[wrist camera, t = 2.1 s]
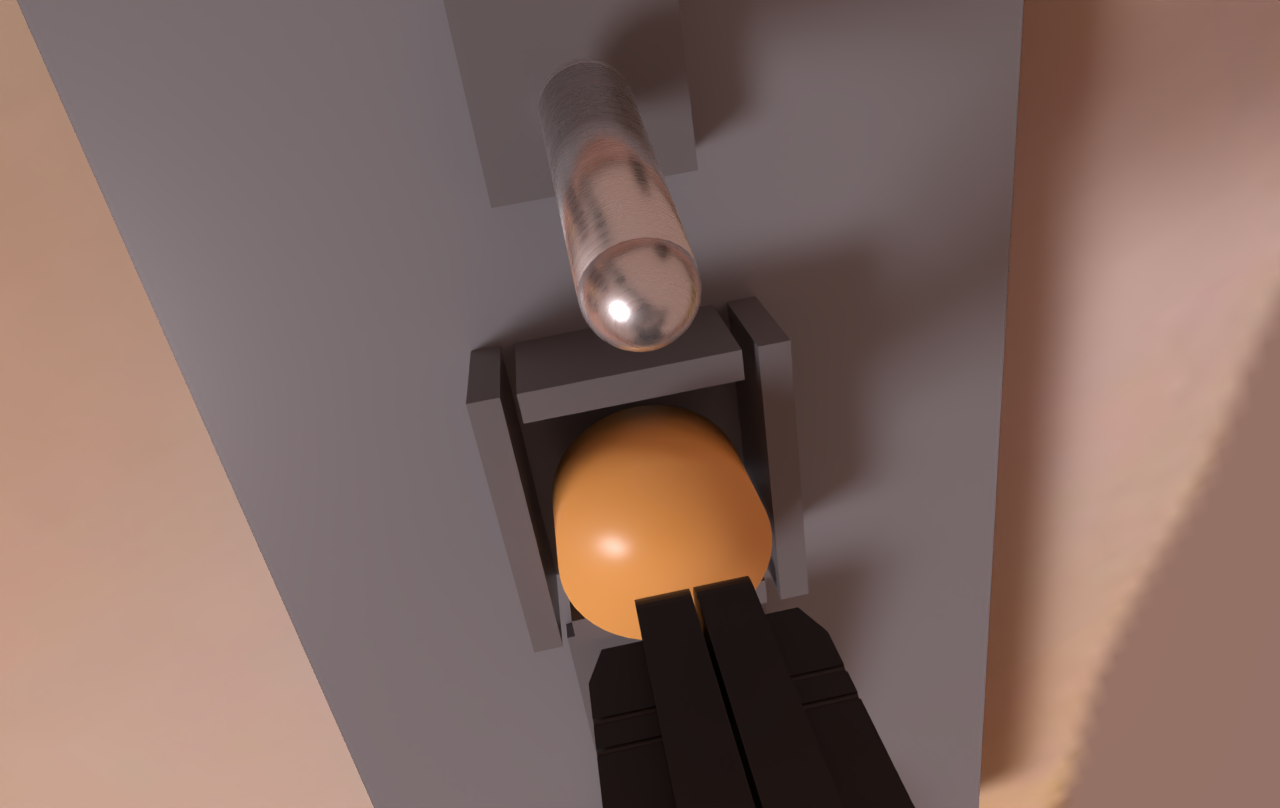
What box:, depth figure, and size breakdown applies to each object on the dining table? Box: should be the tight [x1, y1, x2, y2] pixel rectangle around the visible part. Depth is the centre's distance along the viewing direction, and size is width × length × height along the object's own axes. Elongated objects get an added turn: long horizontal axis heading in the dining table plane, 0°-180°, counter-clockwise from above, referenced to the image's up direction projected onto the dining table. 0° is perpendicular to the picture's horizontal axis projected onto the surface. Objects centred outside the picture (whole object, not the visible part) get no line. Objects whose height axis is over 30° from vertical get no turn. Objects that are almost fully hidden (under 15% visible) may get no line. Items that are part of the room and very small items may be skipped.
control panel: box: [17, 0, 1024, 808], centre depth 17 cm, size 27×14×5 cm, turn 8°
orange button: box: [552, 405, 772, 640], centre depth 13 cm, size 3×3×2 cm
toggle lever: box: [538, 58, 702, 352], centre depth 9 cm, size 1×1×5 cm
